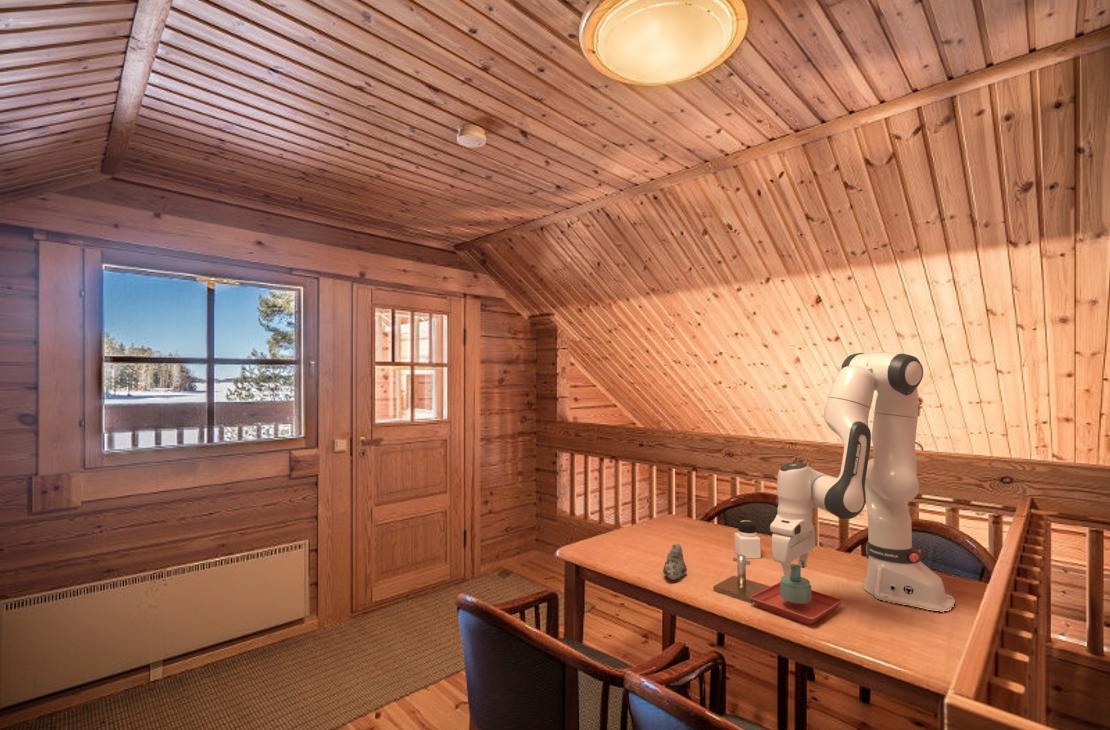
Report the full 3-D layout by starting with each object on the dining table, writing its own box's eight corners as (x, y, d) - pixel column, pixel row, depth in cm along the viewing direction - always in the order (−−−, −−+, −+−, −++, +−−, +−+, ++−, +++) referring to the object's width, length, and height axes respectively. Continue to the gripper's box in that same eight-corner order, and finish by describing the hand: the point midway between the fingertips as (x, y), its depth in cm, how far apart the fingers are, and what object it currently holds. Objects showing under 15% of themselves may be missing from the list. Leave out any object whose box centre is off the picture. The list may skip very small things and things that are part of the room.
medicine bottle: (761, 558, 189) (760, 524, 189) (740, 558, 189) (740, 524, 190) (754, 552, 196) (753, 519, 196) (734, 552, 196) (734, 519, 197)
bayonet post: (770, 591, 161) (770, 556, 161) (751, 603, 153) (750, 566, 153) (733, 580, 170) (733, 546, 170) (713, 591, 162) (713, 556, 162)
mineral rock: (671, 585, 166) (671, 552, 167) (646, 575, 175) (645, 544, 175) (698, 576, 174) (698, 544, 174) (672, 566, 183) (672, 536, 183)
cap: (788, 590, 155) (787, 559, 155) (814, 597, 150) (814, 566, 150) (776, 597, 150) (776, 565, 150) (803, 605, 145) (802, 573, 145)
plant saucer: (748, 608, 151) (748, 596, 151) (781, 591, 162) (781, 580, 162) (812, 632, 137) (812, 618, 137) (844, 611, 148) (843, 599, 148)
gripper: (798, 512, 160) (799, 559, 159) (767, 526, 145) (767, 578, 145) (820, 516, 155) (821, 564, 155) (790, 531, 141) (791, 584, 141)
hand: (795, 571), depth 150 cm, fingers open, 8 cm apart
